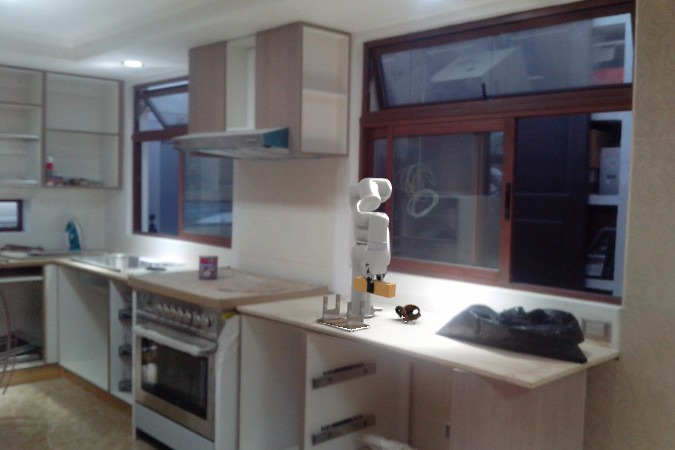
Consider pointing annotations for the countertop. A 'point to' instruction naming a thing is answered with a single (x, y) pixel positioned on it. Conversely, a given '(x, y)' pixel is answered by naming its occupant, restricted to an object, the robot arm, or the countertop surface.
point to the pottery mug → (408, 312)
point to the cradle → (333, 317)
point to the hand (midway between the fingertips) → (374, 291)
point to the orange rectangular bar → (375, 287)
